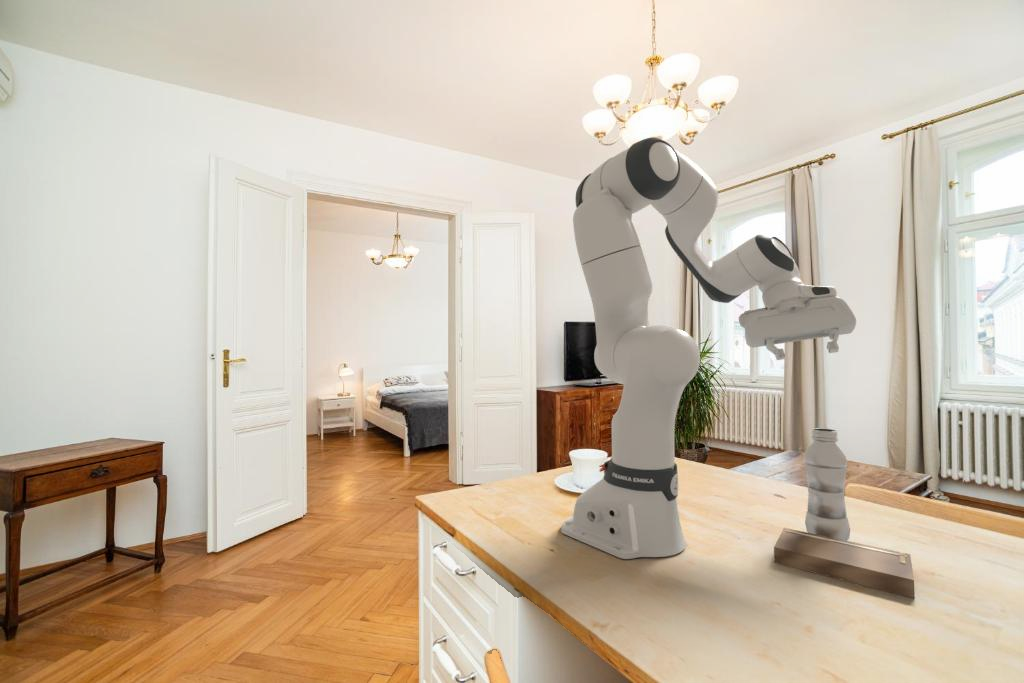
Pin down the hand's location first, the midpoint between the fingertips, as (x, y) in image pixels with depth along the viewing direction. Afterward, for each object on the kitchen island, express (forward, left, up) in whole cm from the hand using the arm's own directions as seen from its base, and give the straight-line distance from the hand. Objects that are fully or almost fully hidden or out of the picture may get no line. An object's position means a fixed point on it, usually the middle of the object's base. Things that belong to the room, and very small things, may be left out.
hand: (807, 354), depth 91 cm
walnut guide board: (+6, -21, -33) cm, 40 cm away
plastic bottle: (+3, -11, -34) cm, 35 cm away
